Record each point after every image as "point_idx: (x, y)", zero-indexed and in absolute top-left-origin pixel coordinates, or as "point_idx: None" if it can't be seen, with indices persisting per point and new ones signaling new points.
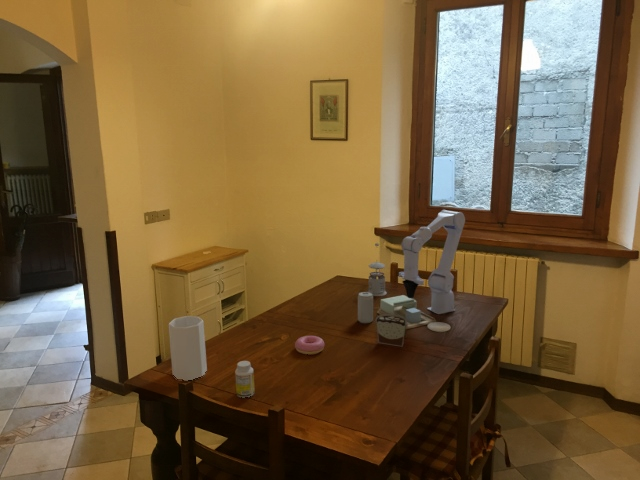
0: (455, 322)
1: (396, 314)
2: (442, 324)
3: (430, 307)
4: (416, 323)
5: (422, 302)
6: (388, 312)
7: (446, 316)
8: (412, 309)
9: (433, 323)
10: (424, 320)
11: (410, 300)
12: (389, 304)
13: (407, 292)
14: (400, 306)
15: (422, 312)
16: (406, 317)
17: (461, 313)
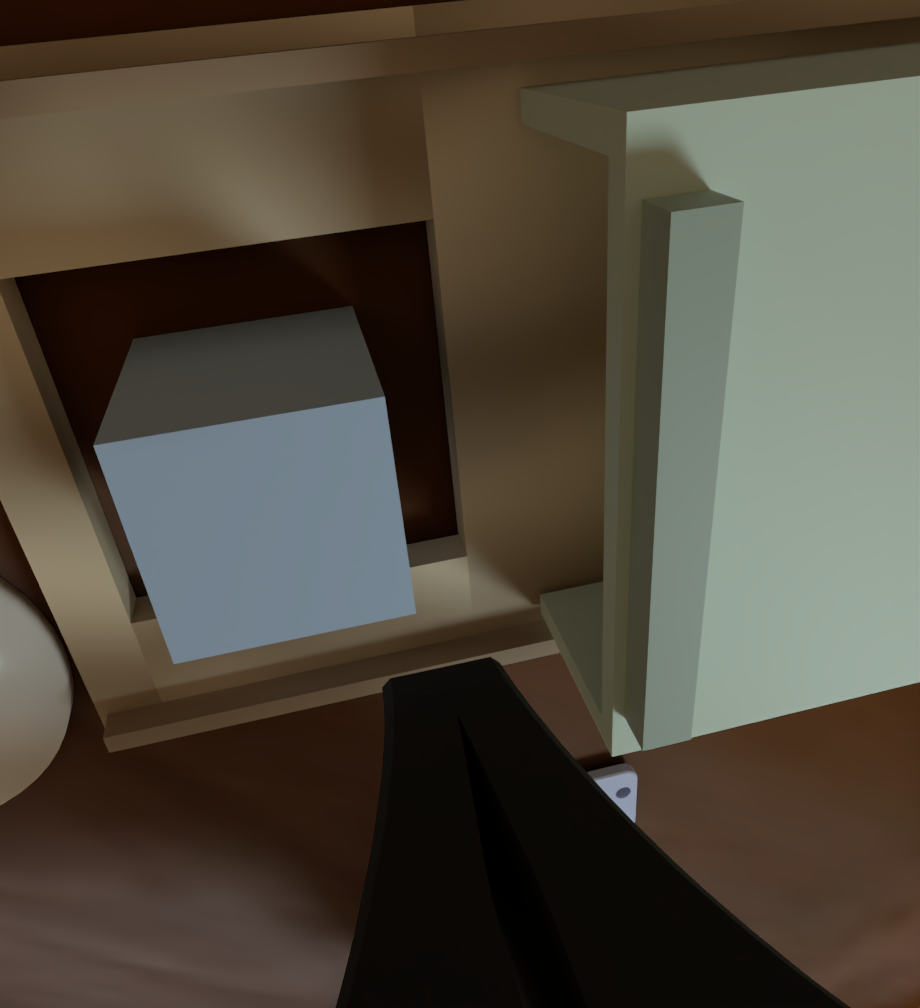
0: (59, 906)
1: None
2: None
3: (625, 809)
4: (14, 405)
5: (833, 778)
6: (715, 70)
7: (304, 872)
8: (335, 545)
9: (9, 671)
10: None
11: (644, 669)
12: (806, 88)
13: (503, 804)
14: None
15: None
16: (320, 337)
17: (335, 1001)
